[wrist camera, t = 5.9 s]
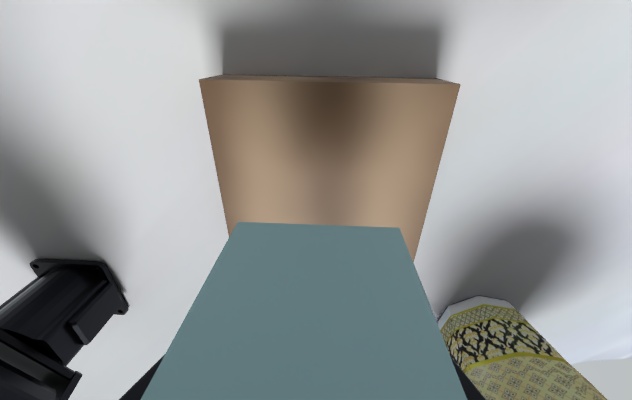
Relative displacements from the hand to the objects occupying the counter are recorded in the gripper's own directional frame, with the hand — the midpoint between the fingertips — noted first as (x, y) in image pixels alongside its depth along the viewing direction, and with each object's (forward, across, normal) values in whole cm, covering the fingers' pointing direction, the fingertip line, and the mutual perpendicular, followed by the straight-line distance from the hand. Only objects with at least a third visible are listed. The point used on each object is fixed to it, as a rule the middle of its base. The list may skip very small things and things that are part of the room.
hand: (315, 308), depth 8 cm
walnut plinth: (+10, 0, 0) cm, 11 cm away
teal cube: (+1, 0, 0) cm, 1 cm away
